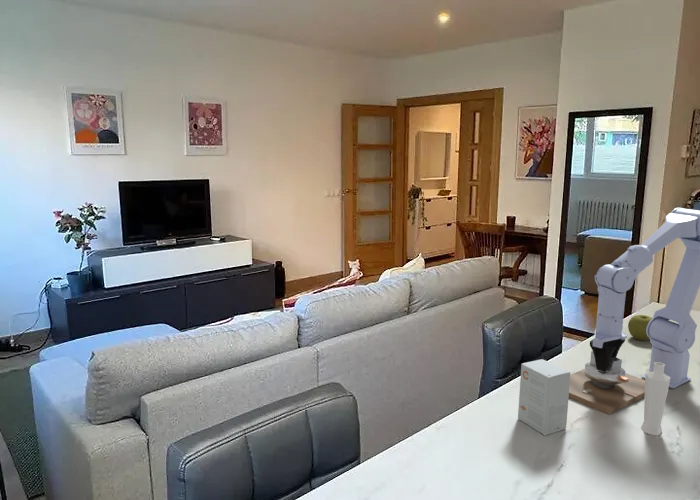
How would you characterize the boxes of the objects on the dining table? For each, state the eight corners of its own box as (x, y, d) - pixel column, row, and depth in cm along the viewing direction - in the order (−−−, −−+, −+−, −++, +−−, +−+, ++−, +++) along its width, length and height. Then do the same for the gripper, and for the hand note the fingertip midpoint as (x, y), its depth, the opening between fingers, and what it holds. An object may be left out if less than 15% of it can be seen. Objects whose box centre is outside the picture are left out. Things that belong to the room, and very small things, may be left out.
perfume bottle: (667, 437, 110) (676, 369, 107) (644, 435, 110) (652, 367, 108) (659, 426, 114) (667, 360, 111) (637, 424, 115) (645, 358, 112)
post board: (597, 367, 144) (598, 357, 144) (659, 389, 131) (660, 378, 130) (547, 388, 132) (548, 376, 131) (609, 414, 119) (611, 402, 118)
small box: (566, 429, 113) (571, 371, 110) (544, 436, 110) (549, 377, 108) (538, 412, 120) (542, 358, 118) (516, 418, 117) (520, 363, 115)
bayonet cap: (576, 372, 133) (578, 351, 132) (603, 366, 137) (605, 346, 136) (611, 390, 123) (613, 368, 122) (639, 384, 127) (642, 362, 126)
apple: (660, 343, 162) (663, 320, 161) (634, 343, 162) (636, 320, 161) (647, 334, 169) (649, 313, 168) (622, 334, 170) (624, 313, 168)
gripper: (617, 325, 120) (611, 381, 123) (637, 311, 130) (632, 363, 133) (585, 318, 125) (580, 372, 127) (607, 305, 135) (602, 355, 138)
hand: (604, 367), depth 130 cm, fingers closed on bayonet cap, 4 cm apart
